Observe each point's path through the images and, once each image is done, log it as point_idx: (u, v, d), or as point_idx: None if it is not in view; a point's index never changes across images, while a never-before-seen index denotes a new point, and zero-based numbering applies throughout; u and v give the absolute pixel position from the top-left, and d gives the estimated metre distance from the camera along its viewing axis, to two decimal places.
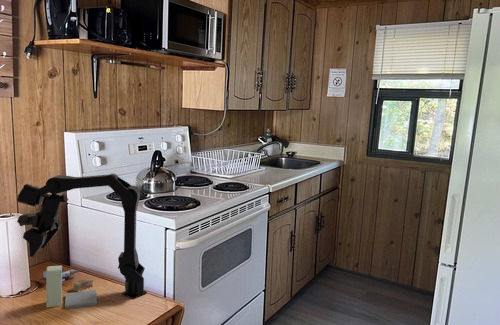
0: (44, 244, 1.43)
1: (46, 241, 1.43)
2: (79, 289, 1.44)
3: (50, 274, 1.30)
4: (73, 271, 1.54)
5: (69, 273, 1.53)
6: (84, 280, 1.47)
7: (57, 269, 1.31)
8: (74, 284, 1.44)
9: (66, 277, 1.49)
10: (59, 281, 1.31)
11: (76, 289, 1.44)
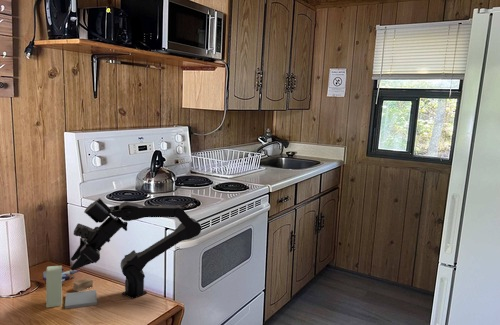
0: (75, 257, 1.39)
1: (79, 255, 1.39)
2: (79, 289, 1.44)
3: (50, 274, 1.30)
4: (73, 271, 1.54)
5: (69, 273, 1.53)
6: (84, 280, 1.47)
7: (57, 269, 1.31)
8: (74, 284, 1.44)
9: (66, 277, 1.49)
10: (59, 281, 1.31)
11: (76, 289, 1.44)
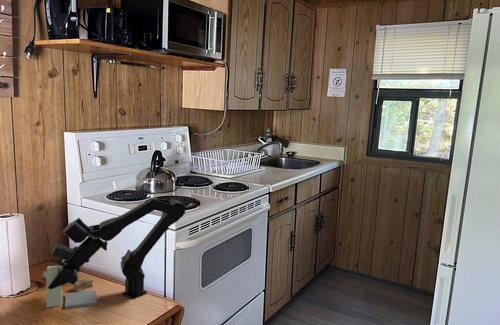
0: None
1: None
2: (79, 289, 1.44)
3: (50, 274, 1.30)
4: None
5: None
6: (84, 280, 1.47)
7: (57, 269, 1.31)
8: (74, 284, 1.44)
9: None
10: None
11: (76, 289, 1.44)
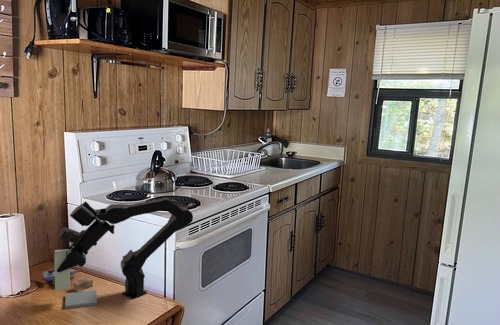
0: None
1: None
2: (78, 289, 1.44)
3: (58, 257, 1.30)
4: (73, 271, 1.54)
5: None
6: (84, 280, 1.47)
7: (65, 253, 1.32)
8: (74, 284, 1.45)
9: None
10: None
11: (75, 289, 1.44)
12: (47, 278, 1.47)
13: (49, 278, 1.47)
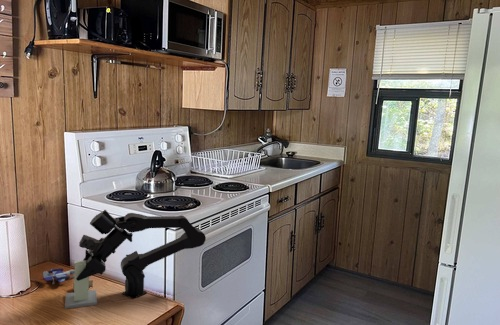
0: None
1: None
2: None
3: (78, 268, 1.33)
4: (73, 271, 1.54)
5: (69, 273, 1.53)
6: None
7: (85, 264, 1.35)
8: None
9: (66, 277, 1.49)
10: None
11: None
12: (47, 278, 1.47)
13: (49, 278, 1.47)
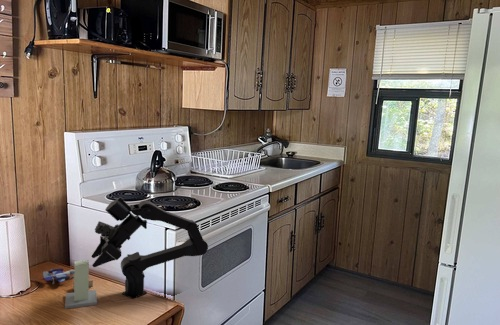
0: (96, 255, 1.42)
1: (99, 253, 1.42)
2: None
3: (78, 268, 1.33)
4: (73, 271, 1.54)
5: (69, 273, 1.53)
6: None
7: (85, 264, 1.35)
8: None
9: (66, 277, 1.49)
10: (86, 275, 1.35)
11: None
12: (47, 278, 1.47)
13: (49, 278, 1.47)
